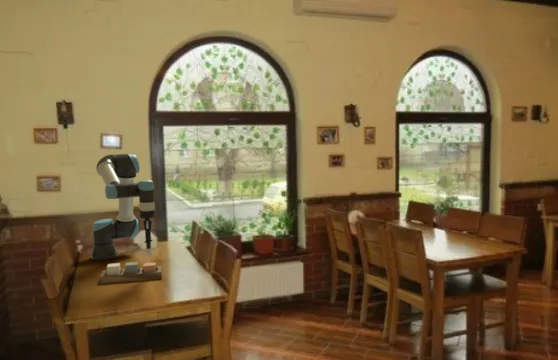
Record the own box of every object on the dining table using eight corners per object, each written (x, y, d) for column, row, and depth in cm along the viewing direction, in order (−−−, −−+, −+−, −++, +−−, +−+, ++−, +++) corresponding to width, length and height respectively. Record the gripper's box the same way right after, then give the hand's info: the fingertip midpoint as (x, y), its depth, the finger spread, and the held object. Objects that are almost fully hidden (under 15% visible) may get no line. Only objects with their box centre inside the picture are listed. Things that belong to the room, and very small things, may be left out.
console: (103, 276, 255) (103, 270, 254) (161, 272, 261) (161, 265, 261) (100, 283, 243) (100, 276, 243) (161, 278, 250) (161, 271, 249)
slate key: (126, 271, 254) (126, 262, 254) (138, 270, 255) (137, 261, 255) (125, 274, 248) (125, 265, 248) (137, 273, 250) (137, 264, 249)
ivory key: (108, 272, 252) (108, 264, 252) (120, 271, 253) (120, 263, 253) (107, 275, 246) (106, 267, 246) (119, 274, 248) (119, 266, 247)
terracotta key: (144, 271, 256) (143, 263, 256) (155, 270, 258) (155, 262, 257) (143, 274, 250) (143, 266, 250) (155, 273, 252) (155, 265, 251)
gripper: (140, 208, 256) (142, 251, 259) (138, 212, 244) (140, 257, 246) (154, 207, 258) (156, 250, 261) (154, 211, 245) (156, 256, 248)
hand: (148, 254), depth 253 cm, fingers closed
